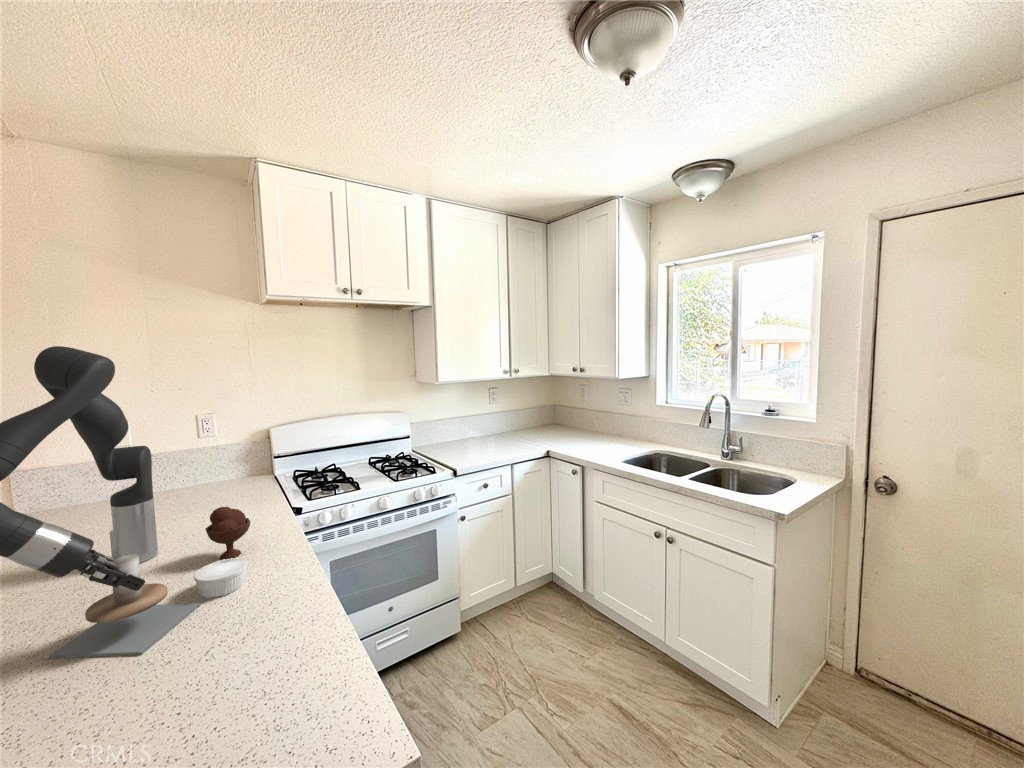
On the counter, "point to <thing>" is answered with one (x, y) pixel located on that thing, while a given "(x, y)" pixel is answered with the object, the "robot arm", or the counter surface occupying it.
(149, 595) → the lid
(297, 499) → the counter surface
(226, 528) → the ice cream bowl
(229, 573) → the ramekin
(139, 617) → the mat
